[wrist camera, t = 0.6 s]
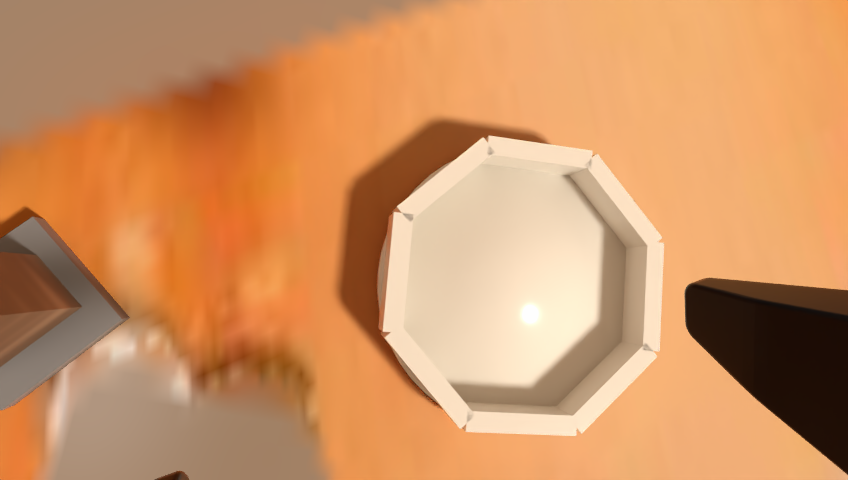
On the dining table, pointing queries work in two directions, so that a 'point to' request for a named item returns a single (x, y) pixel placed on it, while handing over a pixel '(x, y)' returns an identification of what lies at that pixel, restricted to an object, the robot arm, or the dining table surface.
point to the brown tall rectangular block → (46, 309)
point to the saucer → (521, 288)
